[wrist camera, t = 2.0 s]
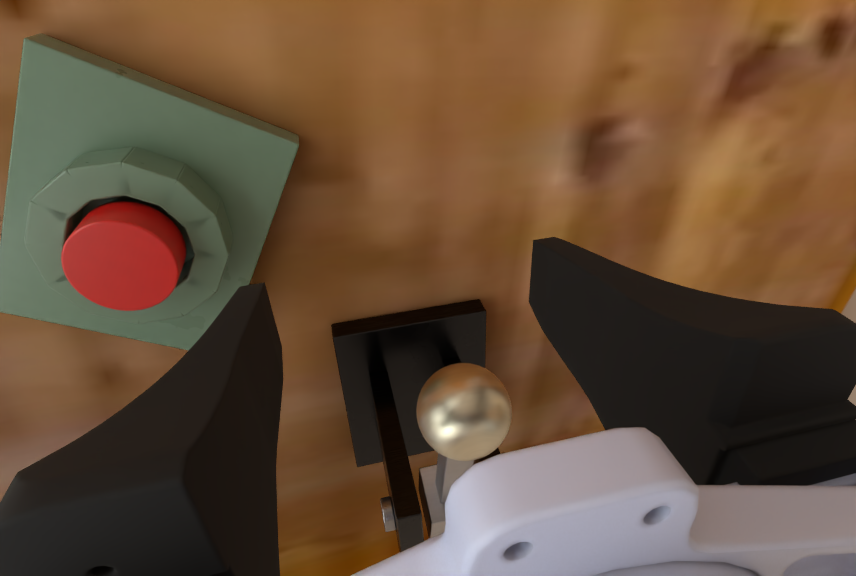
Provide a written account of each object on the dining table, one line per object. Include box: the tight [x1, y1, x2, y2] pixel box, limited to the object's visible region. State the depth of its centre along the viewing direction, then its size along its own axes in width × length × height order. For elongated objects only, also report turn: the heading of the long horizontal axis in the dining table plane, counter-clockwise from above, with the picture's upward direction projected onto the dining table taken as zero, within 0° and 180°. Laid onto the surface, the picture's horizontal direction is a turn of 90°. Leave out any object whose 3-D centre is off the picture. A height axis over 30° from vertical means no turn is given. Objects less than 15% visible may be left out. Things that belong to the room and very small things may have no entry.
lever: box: [416, 363, 512, 539], centre depth 20 cm, size 12×3×3 cm, turn 4°
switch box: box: [0, 34, 299, 350], centre depth 20 cm, size 11×9×3 cm
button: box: [61, 201, 186, 311], centre depth 18 cm, size 4×4×2 cm
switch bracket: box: [331, 299, 500, 552], centre depth 26 cm, size 10×8×10 cm
